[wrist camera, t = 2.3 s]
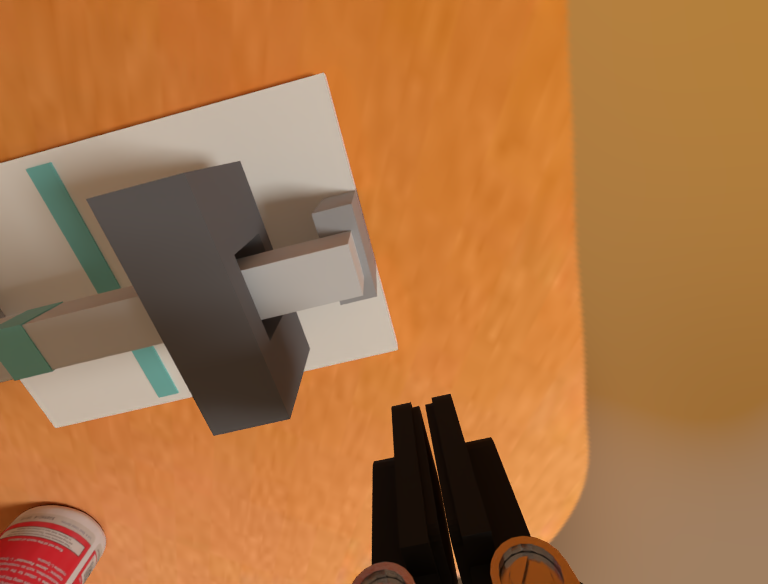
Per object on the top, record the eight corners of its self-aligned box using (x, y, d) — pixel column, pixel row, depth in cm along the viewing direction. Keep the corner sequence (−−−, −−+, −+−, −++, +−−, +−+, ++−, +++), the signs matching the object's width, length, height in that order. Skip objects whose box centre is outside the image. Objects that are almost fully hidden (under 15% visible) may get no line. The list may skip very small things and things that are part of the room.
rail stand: (-97, 193, 18) (-327, 223, 12) (325, 75, 17) (300, 43, 11) (65, 418, 24) (-40, 517, 18) (397, 342, 22) (406, 420, 16)
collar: (170, 179, 16) (85, 199, 11) (240, 160, 15) (184, 172, 11) (252, 362, 19) (213, 435, 14) (310, 348, 19) (290, 418, 14)
